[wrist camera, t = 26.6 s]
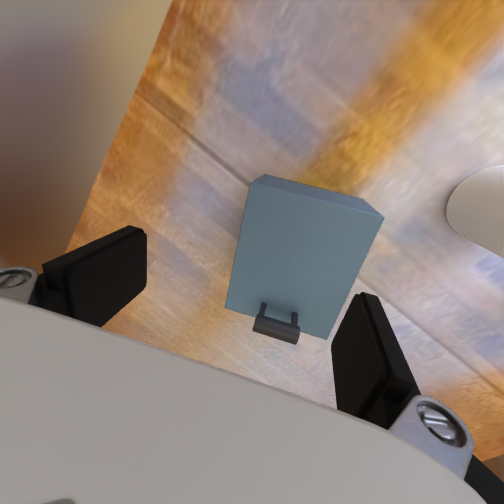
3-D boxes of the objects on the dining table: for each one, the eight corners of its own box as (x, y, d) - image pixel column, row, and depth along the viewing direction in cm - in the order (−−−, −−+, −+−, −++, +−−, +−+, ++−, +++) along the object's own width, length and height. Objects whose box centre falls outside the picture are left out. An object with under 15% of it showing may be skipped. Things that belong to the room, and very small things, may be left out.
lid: (326, 335, 31) (330, 370, 27) (226, 304, 33) (212, 331, 28) (382, 215, 24) (401, 232, 19) (251, 181, 26) (239, 189, 21)
